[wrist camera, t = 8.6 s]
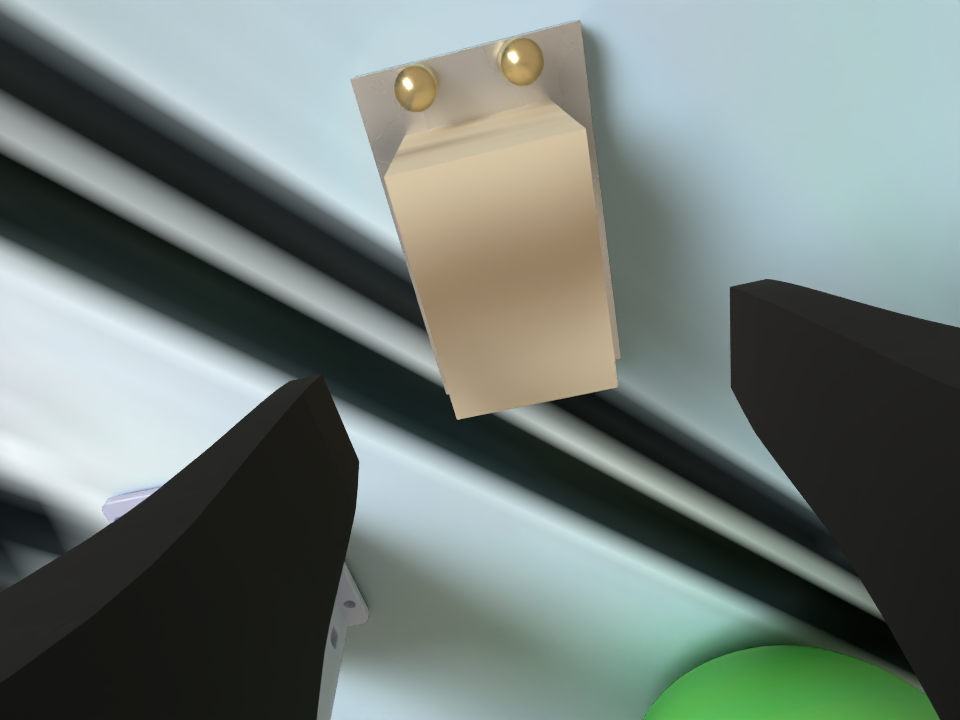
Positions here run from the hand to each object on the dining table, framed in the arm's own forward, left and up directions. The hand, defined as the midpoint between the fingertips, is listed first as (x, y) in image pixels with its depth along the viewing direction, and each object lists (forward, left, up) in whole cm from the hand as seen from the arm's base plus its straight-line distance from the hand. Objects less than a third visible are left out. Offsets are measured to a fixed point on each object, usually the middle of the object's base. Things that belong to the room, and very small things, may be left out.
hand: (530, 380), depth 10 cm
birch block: (0, 0, -8) cm, 8 cm away
